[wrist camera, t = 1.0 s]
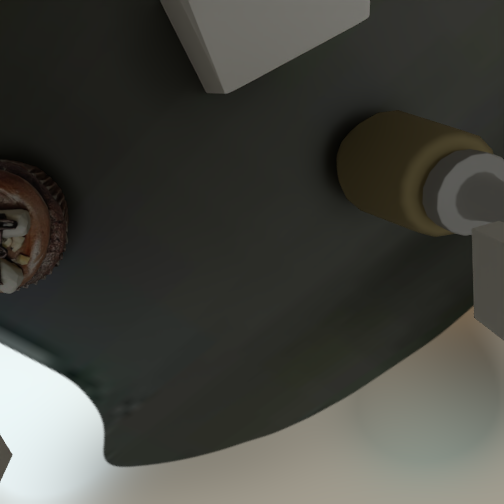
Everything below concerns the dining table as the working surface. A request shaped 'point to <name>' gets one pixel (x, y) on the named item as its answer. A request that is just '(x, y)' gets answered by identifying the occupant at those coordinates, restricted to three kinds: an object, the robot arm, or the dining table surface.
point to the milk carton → (255, 34)
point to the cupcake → (29, 225)
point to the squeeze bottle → (421, 174)
